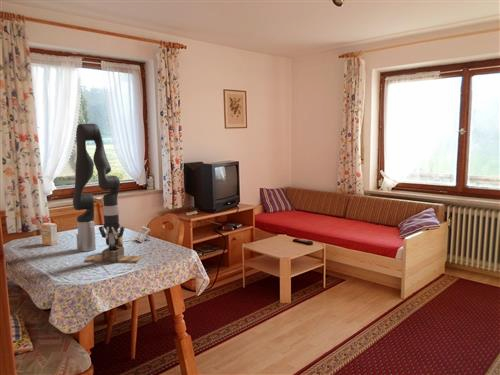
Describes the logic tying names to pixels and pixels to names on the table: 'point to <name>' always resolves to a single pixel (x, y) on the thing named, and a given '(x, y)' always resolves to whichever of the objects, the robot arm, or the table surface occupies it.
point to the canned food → (119, 241)
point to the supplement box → (49, 234)
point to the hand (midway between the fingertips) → (112, 245)
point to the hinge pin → (111, 241)
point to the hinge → (113, 257)
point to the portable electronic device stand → (144, 234)
